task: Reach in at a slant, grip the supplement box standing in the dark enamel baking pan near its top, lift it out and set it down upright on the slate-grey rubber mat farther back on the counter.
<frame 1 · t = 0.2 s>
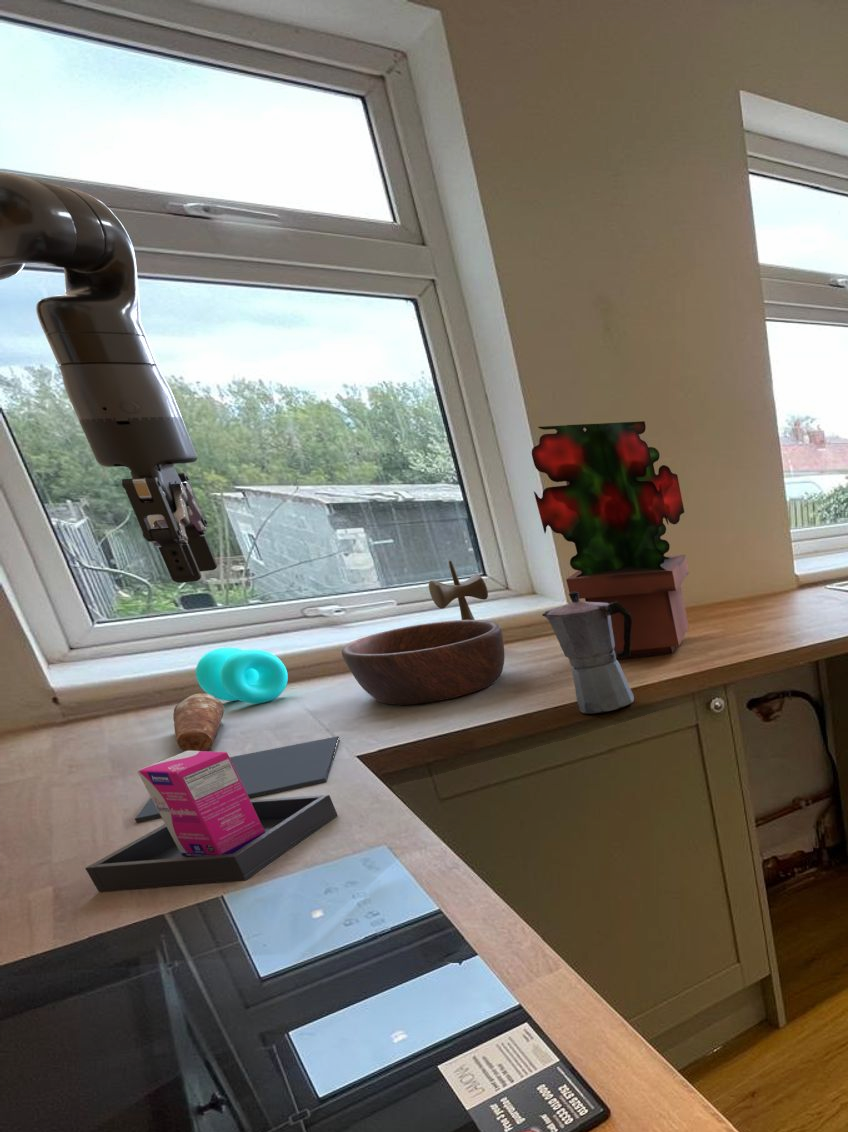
hand: (197, 575, 88), 32 cm above the worktop, tool pointing down, fingers open, 8 cm apart
bread: (208, 739, 134), on the worktop
wooden bowl: (441, 689, 154), on the worktop
potted plant: (648, 649, 174), on the worktop
mat: (249, 776, 118), on the worktop
donuts: (254, 701, 152), on the worktop
moka pot: (610, 707, 141), on the worktop
kendama: (478, 653, 177), on the worktop
supplement box: (226, 847, 97), resting on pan
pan: (227, 850, 97), on the worktop
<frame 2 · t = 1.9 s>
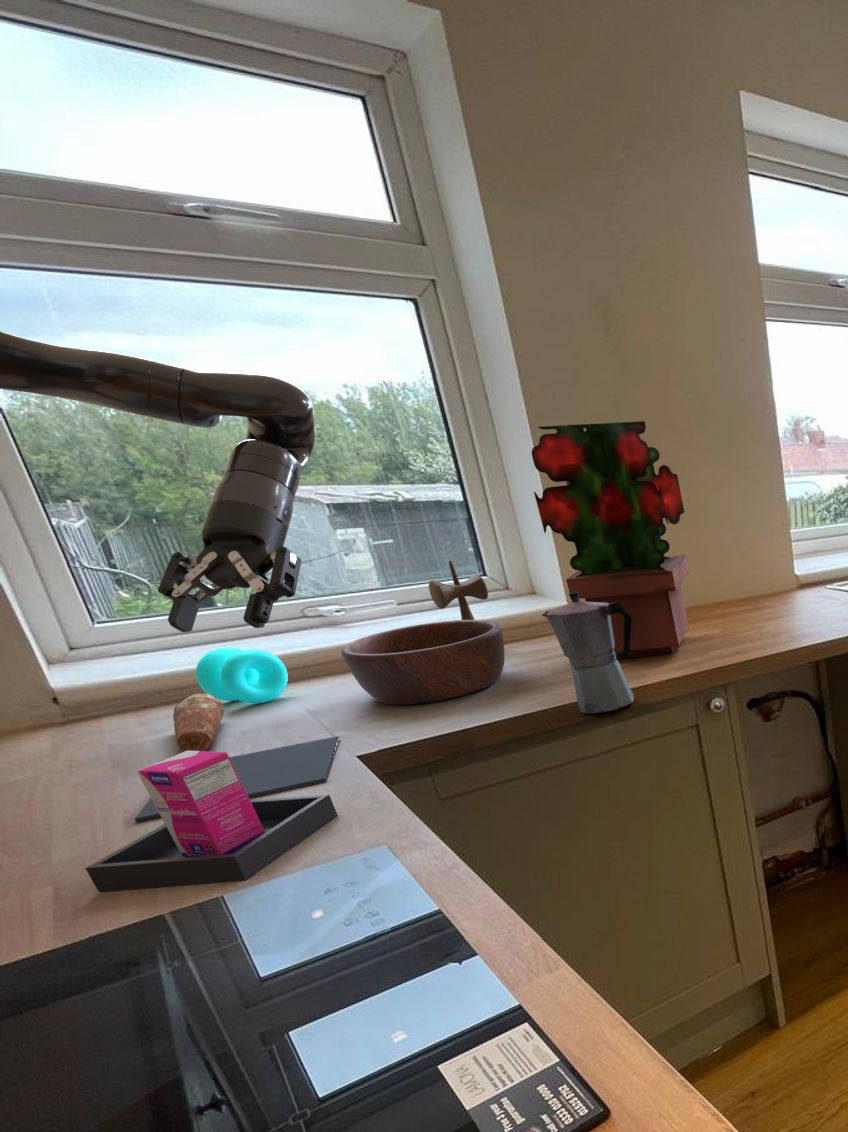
hand: (216, 626, 98), 25 cm above the worktop, tool tilted 45°, fingers open, 8 cm apart
nothing on the worktop moved.
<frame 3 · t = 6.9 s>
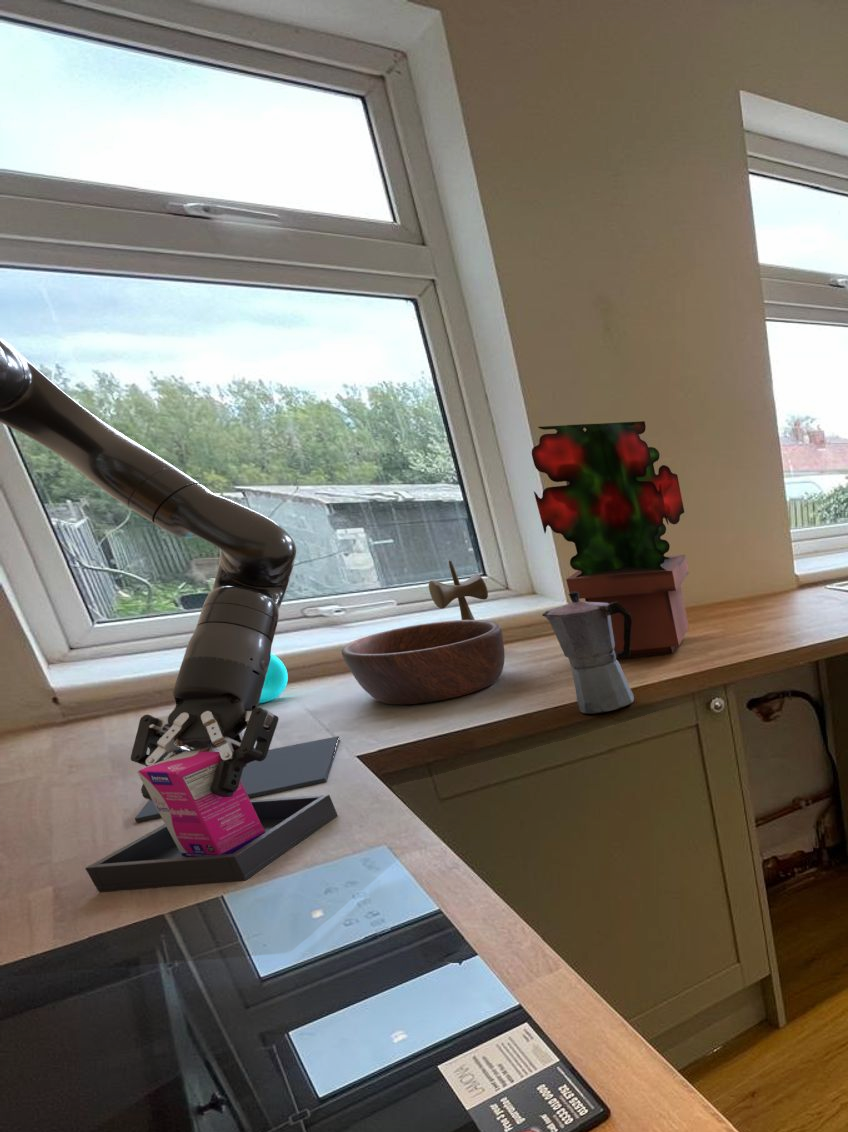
hand: (187, 797, 93), 8 cm above the worktop, tool tilted 45°, fingers closed on supplement box, 6 cm apart
supplement box: (226, 847, 97), resting on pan, touching gripper
everything else where it was.
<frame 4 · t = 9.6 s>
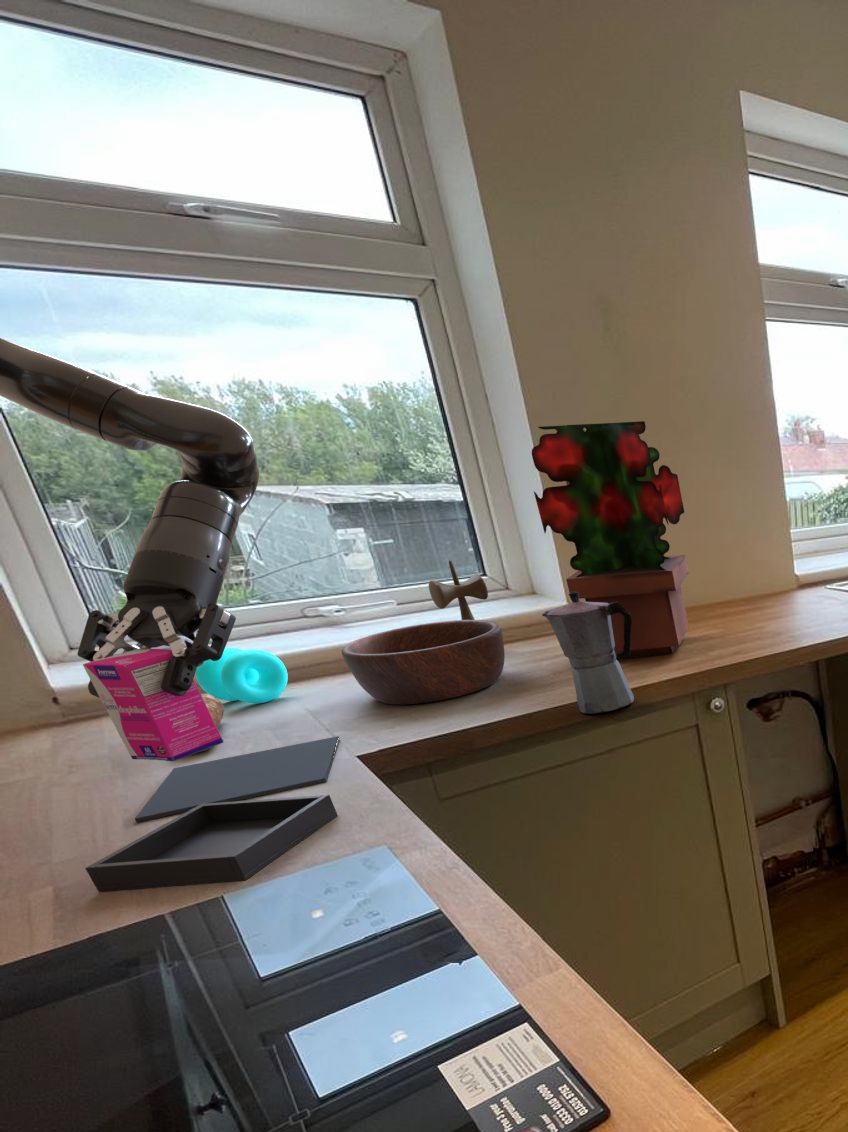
hand: (137, 694, 88), 20 cm above the worktop, tool tilted 45°, fingers closed on supplement box, 6 cm apart
supplement box: (179, 753, 93), point 13 cm above the worktop, touching gripper
everything else where it was.
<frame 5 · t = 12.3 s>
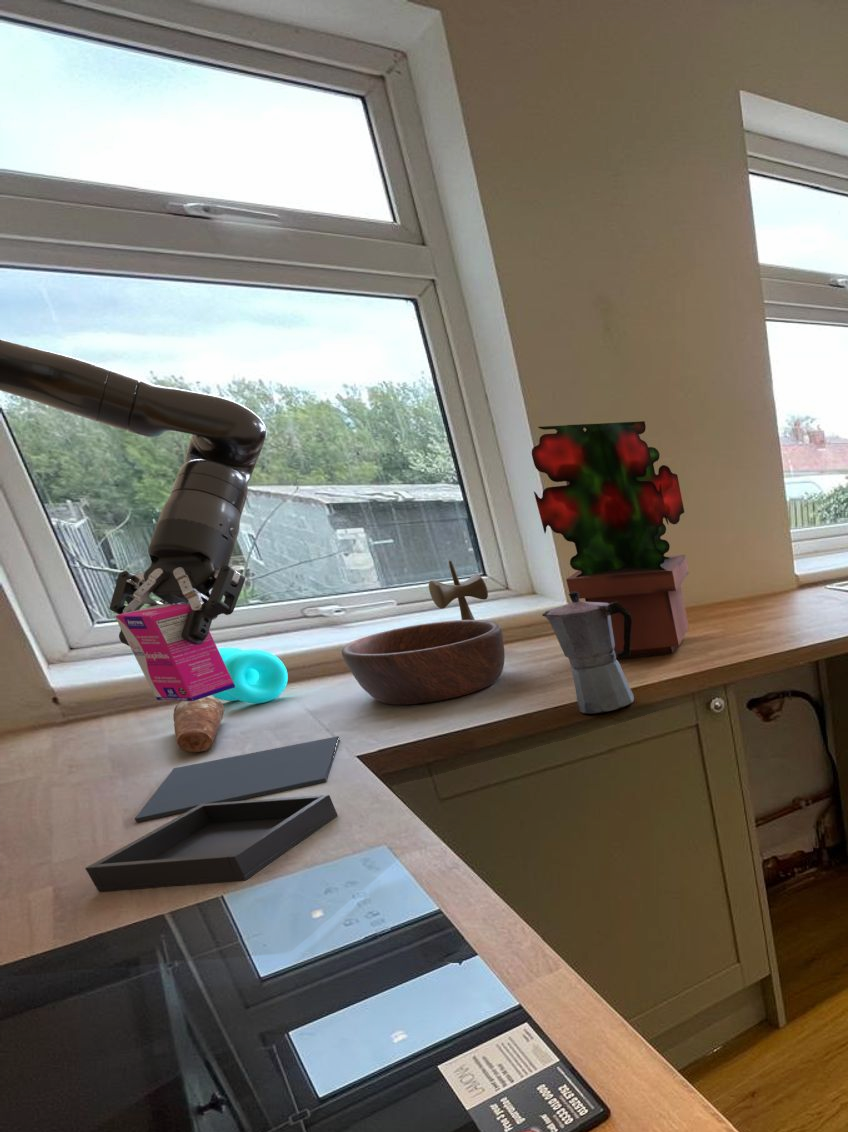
hand: (161, 643, 102), 22 cm above the worktop, tool tilted 45°, fingers closed on supplement box, 6 cm apart
supplement box: (197, 695, 107), point 15 cm above the worktop, touching gripper
everything else where it was.
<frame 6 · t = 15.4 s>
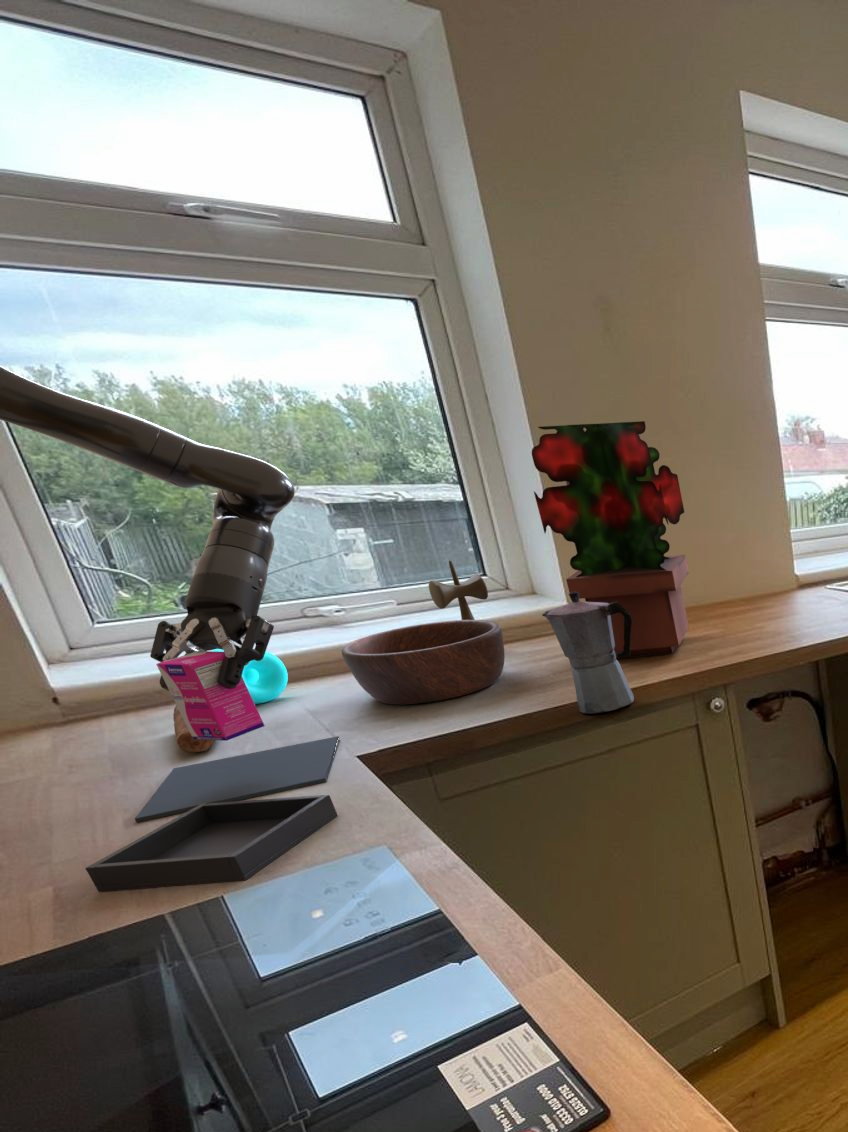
hand: (198, 688, 111), 14 cm above the worktop, tool tilted 45°, fingers closed on supplement box, 6 cm apart
supplement box: (230, 734, 116), point 7 cm above the worktop, touching gripper
everything else where it was.
when the fingers open (8 cm above the worktop, at t = 17.8 s): supplement box stays where it is, resting on mat.
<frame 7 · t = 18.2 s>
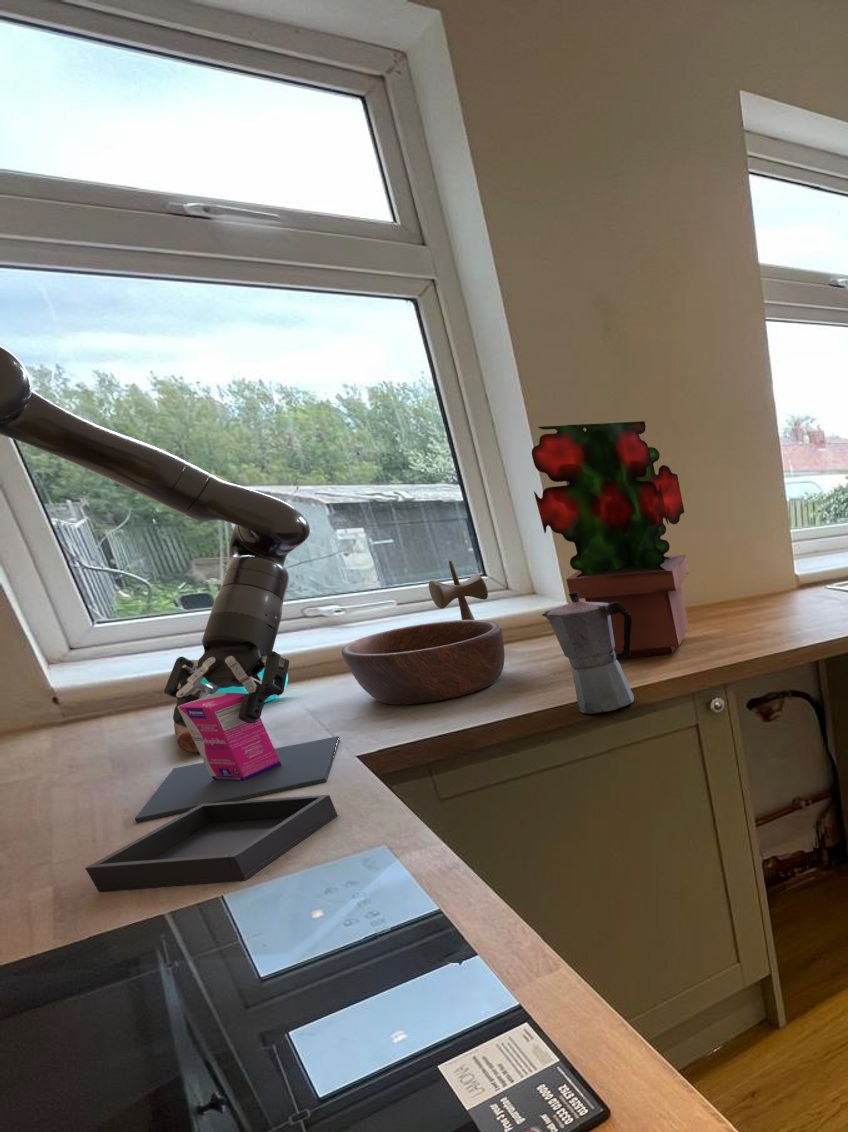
hand: (215, 723, 114), 9 cm above the worktop, tool tilted 45°, fingers open, 8 cm apart
supplement box: (248, 773, 118), resting on mat
everything else where it was.
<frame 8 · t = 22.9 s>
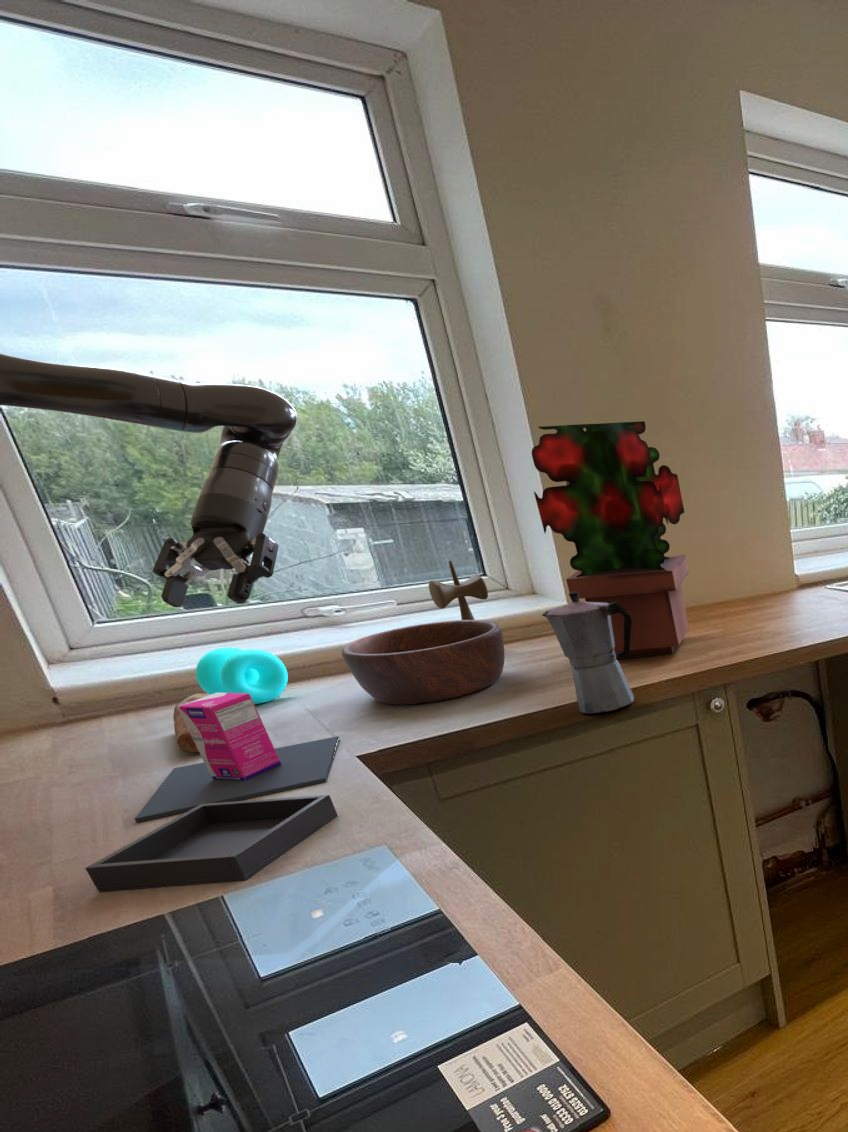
hand: (203, 602, 113), 25 cm above the worktop, tool tilted 45°, fingers open, 8 cm apart
nothing on the worktop moved.
at the end: supplement box inside the target area on the mat (0.2 cm from its centre), point 0.4 cm above the mat's base; supplement box tilted 0°; the gripper is holding nothing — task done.
